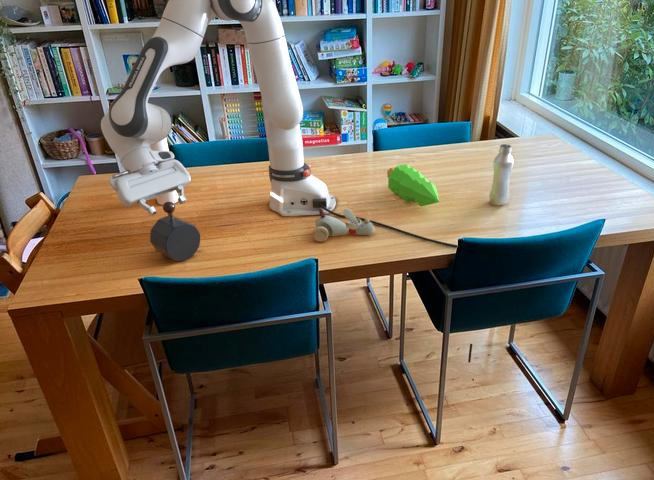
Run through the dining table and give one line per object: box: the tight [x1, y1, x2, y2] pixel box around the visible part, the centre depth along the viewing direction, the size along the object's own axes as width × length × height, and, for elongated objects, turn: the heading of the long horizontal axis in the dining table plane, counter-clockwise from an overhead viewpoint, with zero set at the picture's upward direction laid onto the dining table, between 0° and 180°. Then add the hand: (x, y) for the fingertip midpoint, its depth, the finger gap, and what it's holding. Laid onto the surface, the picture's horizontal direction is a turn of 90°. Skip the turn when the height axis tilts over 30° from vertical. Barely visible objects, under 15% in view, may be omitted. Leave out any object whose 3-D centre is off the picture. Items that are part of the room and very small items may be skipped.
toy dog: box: [312, 208, 375, 243], centre depth 165 cm, size 12×19×9 cm, turn 114°
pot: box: [149, 202, 201, 262], centre depth 153 cm, size 8×11×17 cm
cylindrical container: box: [150, 137, 179, 206], centre depth 183 cm, size 7×7×25 cm
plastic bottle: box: [488, 143, 514, 206], centre depth 180 cm, size 6×7×20 cm
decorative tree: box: [386, 163, 440, 208], centre depth 184 cm, size 11×12×30 cm
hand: (169, 208), depth 150 cm, fingers open, 8 cm apart
